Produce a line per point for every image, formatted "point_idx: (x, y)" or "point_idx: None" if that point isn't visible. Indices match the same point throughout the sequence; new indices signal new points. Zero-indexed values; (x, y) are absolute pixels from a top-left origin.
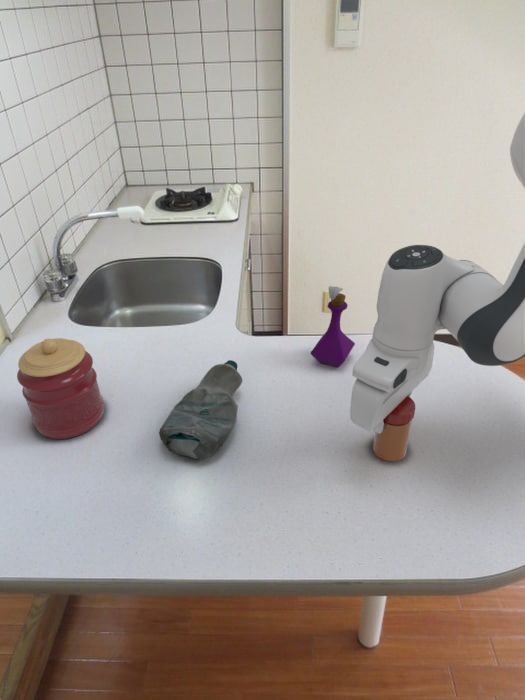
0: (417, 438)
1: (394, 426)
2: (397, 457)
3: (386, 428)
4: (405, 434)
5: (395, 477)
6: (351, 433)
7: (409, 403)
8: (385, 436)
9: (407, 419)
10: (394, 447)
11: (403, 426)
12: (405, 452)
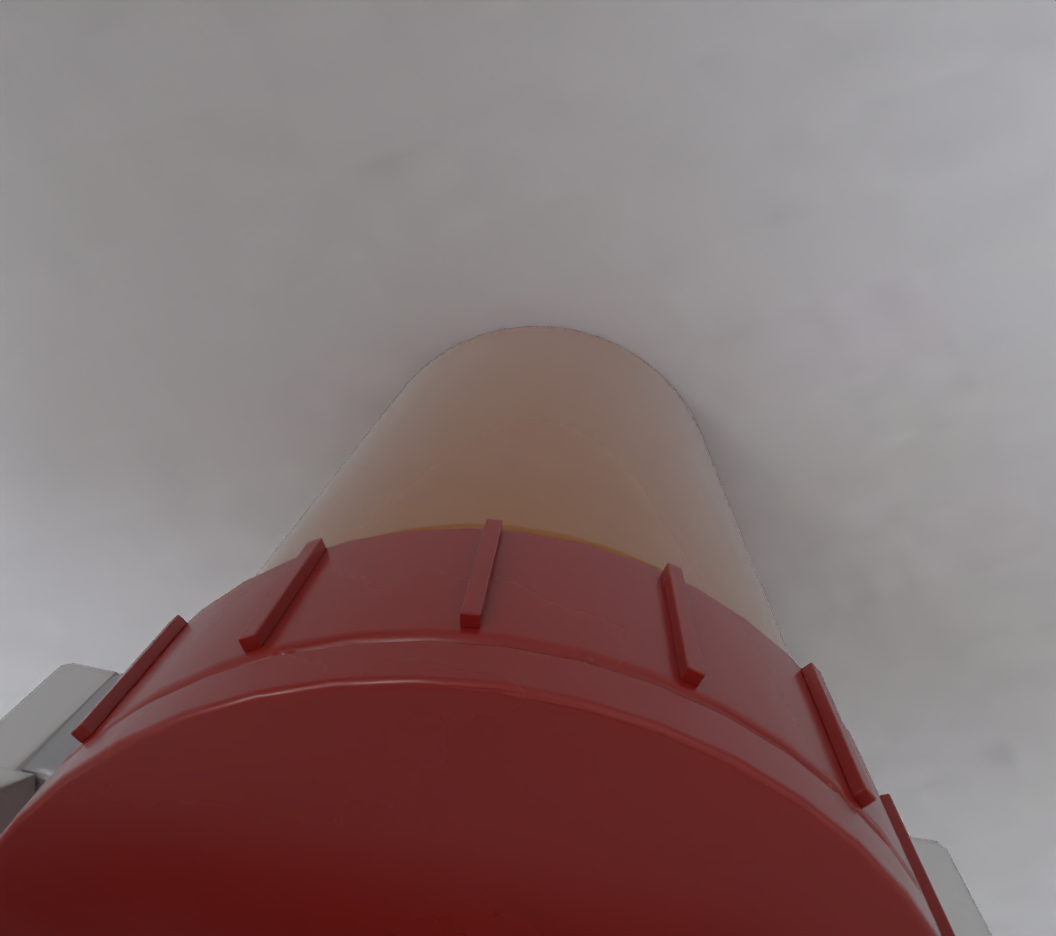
0: (215, 285)
1: None
2: (670, 393)
3: None
4: (637, 464)
5: (910, 319)
6: None
7: (231, 868)
8: None
9: (741, 663)
10: (722, 492)
11: (729, 604)
12: (555, 337)
